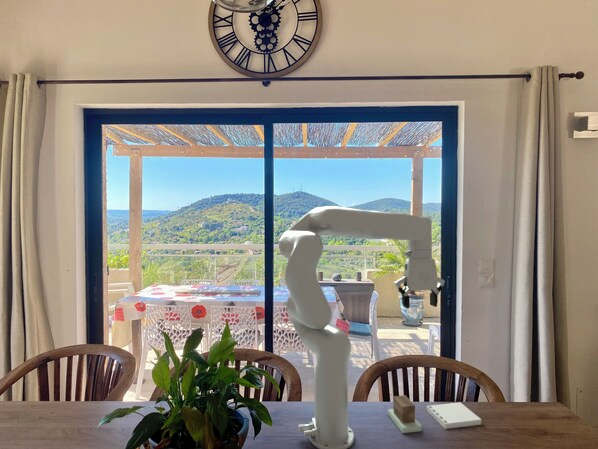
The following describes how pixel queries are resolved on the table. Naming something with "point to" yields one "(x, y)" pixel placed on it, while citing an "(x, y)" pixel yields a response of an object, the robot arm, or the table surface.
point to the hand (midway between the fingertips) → (419, 306)
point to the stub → (404, 415)
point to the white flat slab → (453, 415)
